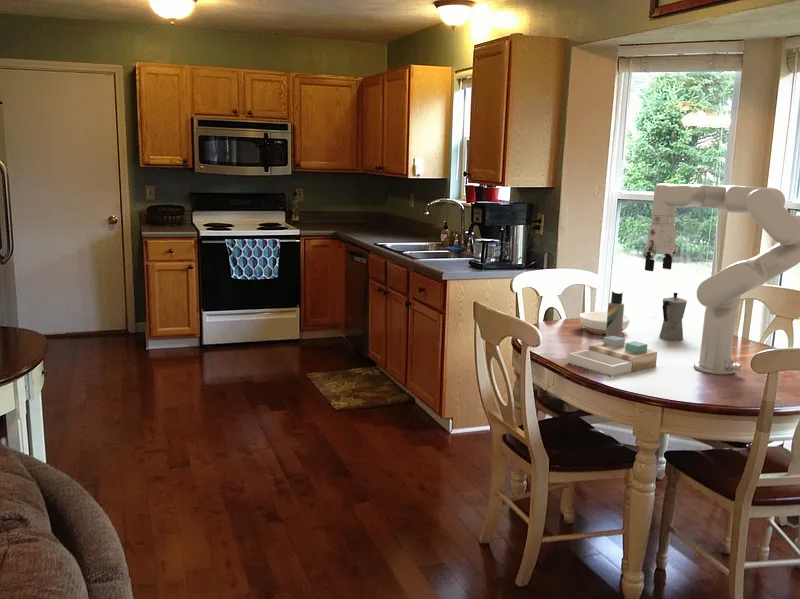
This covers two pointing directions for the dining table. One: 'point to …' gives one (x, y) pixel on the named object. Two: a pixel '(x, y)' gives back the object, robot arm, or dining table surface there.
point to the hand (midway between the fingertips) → (657, 269)
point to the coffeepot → (673, 318)
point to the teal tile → (636, 347)
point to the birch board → (628, 355)
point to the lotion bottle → (615, 315)
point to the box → (600, 362)
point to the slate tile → (614, 341)
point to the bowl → (598, 321)
